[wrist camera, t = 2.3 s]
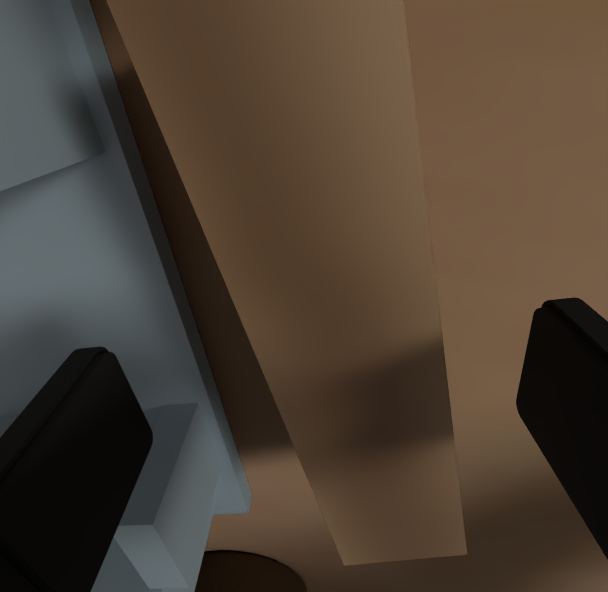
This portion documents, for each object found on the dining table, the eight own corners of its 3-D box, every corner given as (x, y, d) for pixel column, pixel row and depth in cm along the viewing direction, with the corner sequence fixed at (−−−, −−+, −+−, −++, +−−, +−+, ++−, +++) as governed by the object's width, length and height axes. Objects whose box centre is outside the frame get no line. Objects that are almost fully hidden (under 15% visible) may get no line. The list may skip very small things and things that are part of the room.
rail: (353, -26, 10) (387, -135, 5) (424, 411, 17) (467, 554, 12) (209, 25, 10) (97, -21, 5) (338, 424, 18) (344, 565, 13)
